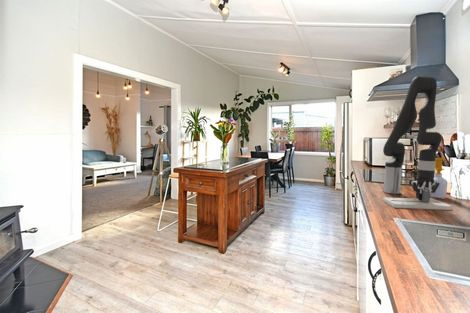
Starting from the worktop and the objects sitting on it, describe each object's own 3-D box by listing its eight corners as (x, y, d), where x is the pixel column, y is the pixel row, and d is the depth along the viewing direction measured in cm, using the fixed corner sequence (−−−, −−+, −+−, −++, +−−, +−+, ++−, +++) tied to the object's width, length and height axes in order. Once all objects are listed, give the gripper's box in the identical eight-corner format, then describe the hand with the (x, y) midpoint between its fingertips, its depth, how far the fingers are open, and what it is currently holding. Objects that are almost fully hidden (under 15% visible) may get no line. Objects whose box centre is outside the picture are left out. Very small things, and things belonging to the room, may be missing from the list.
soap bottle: (430, 197, 152) (433, 158, 150) (425, 194, 161) (428, 156, 158) (448, 199, 149) (452, 158, 146) (442, 195, 157) (446, 157, 155)
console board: (382, 200, 145) (382, 197, 145) (434, 202, 142) (434, 198, 142) (394, 207, 132) (394, 203, 132) (451, 209, 129) (451, 205, 129)
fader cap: (417, 199, 139) (418, 188, 138) (423, 199, 139) (424, 188, 138) (423, 202, 134) (424, 190, 133) (429, 202, 134) (430, 191, 133)
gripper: (435, 168, 137) (432, 198, 139) (408, 167, 139) (405, 197, 141) (445, 170, 130) (442, 202, 132) (416, 169, 131) (413, 201, 133)
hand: (423, 199), depth 136 cm, fingers closed on fader cap, 3 cm apart
